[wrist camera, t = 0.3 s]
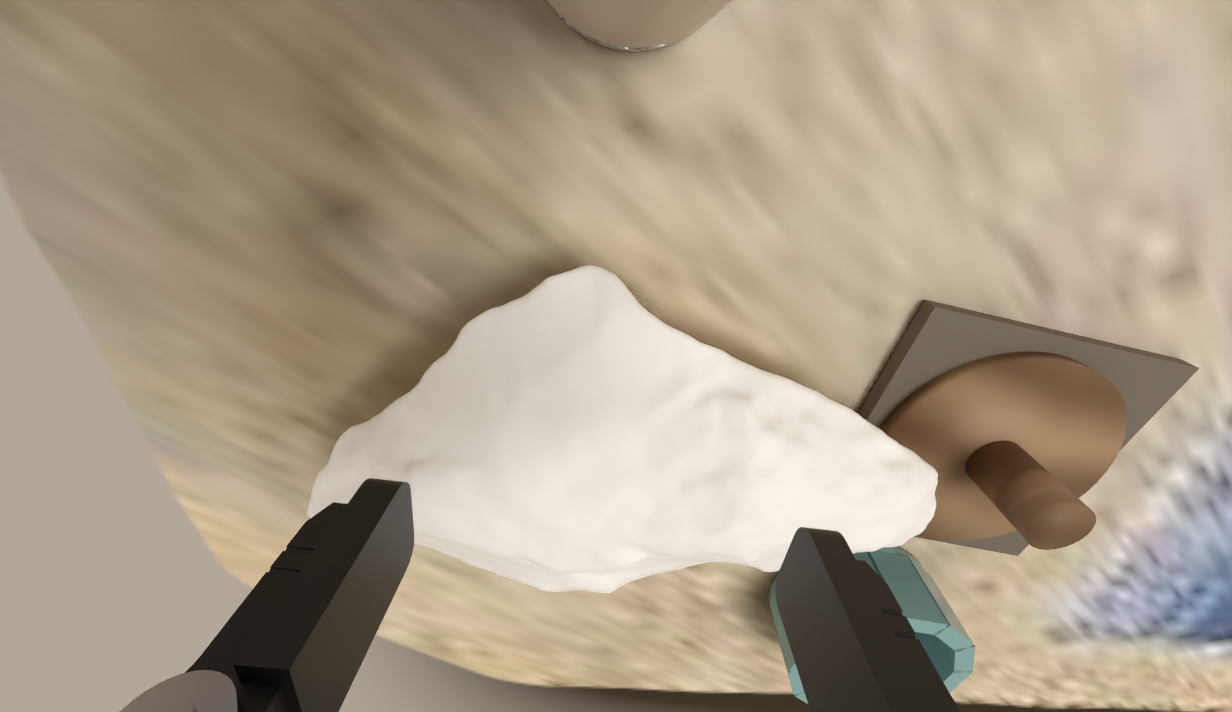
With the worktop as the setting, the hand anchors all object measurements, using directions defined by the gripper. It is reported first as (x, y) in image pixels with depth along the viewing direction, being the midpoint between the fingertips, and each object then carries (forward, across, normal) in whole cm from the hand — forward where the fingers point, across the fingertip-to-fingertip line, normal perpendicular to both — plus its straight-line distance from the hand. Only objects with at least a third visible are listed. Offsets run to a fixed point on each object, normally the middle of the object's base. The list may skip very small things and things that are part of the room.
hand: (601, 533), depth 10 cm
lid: (+17, -24, +8) cm, 30 cm away
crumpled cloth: (+18, -2, +10) cm, 21 cm away
